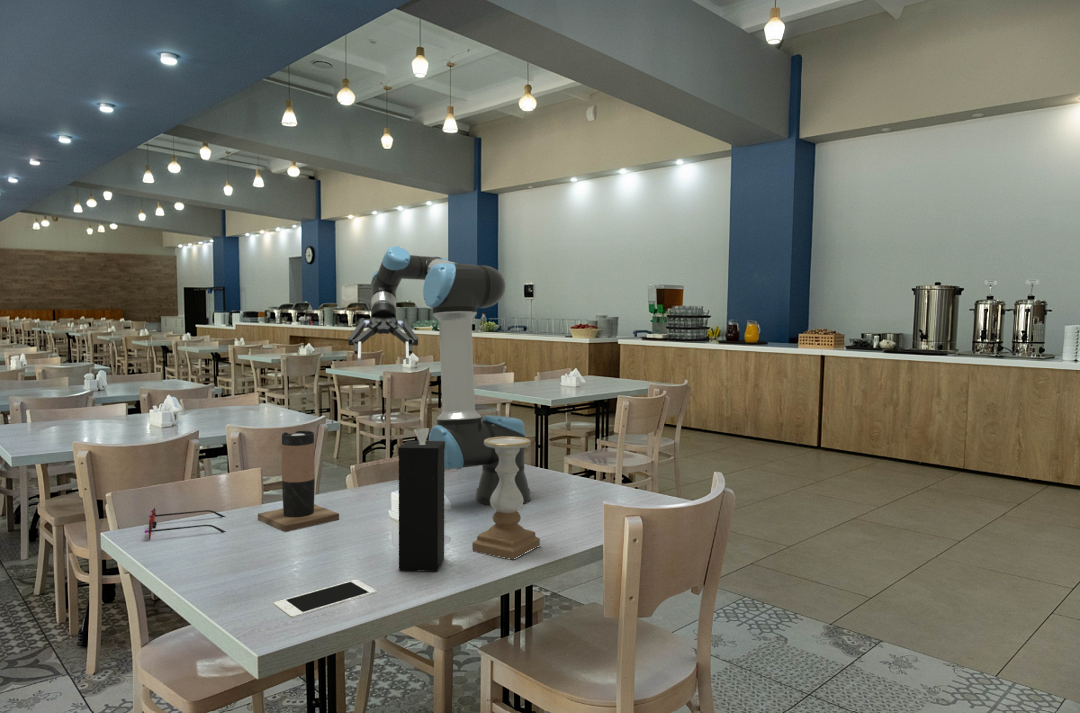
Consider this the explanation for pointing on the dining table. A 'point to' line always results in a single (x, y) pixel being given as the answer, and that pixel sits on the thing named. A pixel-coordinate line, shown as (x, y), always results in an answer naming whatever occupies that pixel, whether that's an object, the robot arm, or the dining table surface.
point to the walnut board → (297, 519)
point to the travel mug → (298, 473)
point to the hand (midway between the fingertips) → (383, 361)
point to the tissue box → (421, 503)
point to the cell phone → (323, 597)
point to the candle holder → (506, 505)
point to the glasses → (153, 524)
